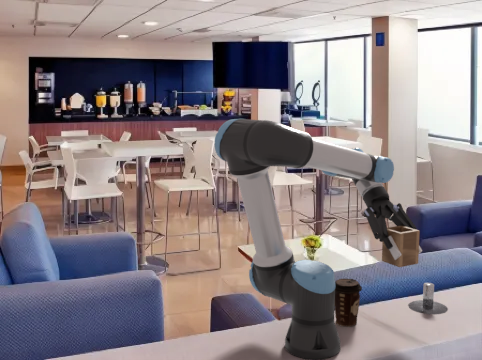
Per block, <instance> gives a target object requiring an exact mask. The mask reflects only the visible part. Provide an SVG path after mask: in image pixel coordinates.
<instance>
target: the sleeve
mask: <svg viewBox="0 0 482 360" xmlns="http://www.w3.org/2000/svg"><path fill="white" fill-rule="evenodd" d="M387 231H388V237H389V236H391V237H392V238H393V240H394V242H395V244H396V245H397V247H398V249H399V251H400V252H401V254H402V255H401V256H400V257H399V258H398V259H397V260H395V259H394V257H393V256H392V254H391V252H390V250H389V249H387V247H386V246H385V244H384V242H381V246H382V247H381V261H382V262H384V263H387V264H389V265H393V266H395V267H398V268H402V267H407V266H413V265H418V264H419V246H420V232H421V231H420V230H419V229H412V228H409V227H405V226H396V225H395V226H390V227H389V226H388V227H387Z"/></svg>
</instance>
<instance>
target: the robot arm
mask: <svg viewBox="0 0 482 360" xmlns="http://www.w3.org/2000/svg"><path fill="white" fill-rule="evenodd" d="M214 150H215V153H216V155H217V157H219V159H221V160H222V161H224V162H226V164H227V167H228V172H229V174H230V175H231V176H232V177H234V178H236V179H237V184H238V188H239V191H240V196H241V199H242V202H243V206H244V211H245V214H246V218H247V222H248V226H249V230H250V231H249V232H250V235H251V238H252V241H253V246H254V250H255V254H254V255H253V257H252V261H251V263H250V269H249V270H248V277H249V281H250V284H251V286H252V288H253V289H254V290H255V291H257V293H259V294H261V295H263V296H265V297H268V298H270V299H273V300H275V301H276V300H277V301H279V302H282V303H285V304H287V305H289V306H291V320H290V324H289V327H288V329H287V332H286V335H285V339H284V348H285V350H286V352H288V354H291V355H293V356H295V357H298V358H302V359H306V360H322V359H329V358H332V357H334V356H336V355H338V354H339V353H340V352H341V339H340V335H339V332H338V330H337V326H336V321H335V287H336V285H335V281H336V280H335V278H336V277H335V272H334V270H333V268H332V267H331V266H329V265H328V264H326V263H324V262H321V261H319V260H311V259H300V260H297V261H295V257H294V252H293V250H292V248H290V247H289V246H288V245H286V243H285V238H284V234H283V230H282V225H281V222H280V217H279V214H278V209H277V208H278V207H277V204H276V200H275V196H274V192H273V187H272V183H271V179H270V175H269V169H270V168H271V167H283V168H293V169H302V168H304V167H307V168H311V169H315V170H320V171H321V172H322V173H323V174H325V175H326V176H330V177H338V178H345V179H351V181H352V182H353V184H354V186H355V188H356V189H357V191H358V193H359V195H360V197H361V198H362V200H363V202H364V204H365V206H366V207H367V208H366V209H365V210H364V211H363V212H362V214H363V215H364V217H365V218H366V219H367V222H368V225H369V227H370V229H371V232H372V235H373V237H374V239H375V240H379V242H380V243H382V242H384V244H385V246H386V247H387V249H389V250H390V252H391V254H392V256H393V257H394V259H395V260H397V259H398V258H399V257H400V256H401V255H402V254H401V252H400V251H399V249H398V247H397V245H396V244H395V242H394V240H393V238H392V237H391V236H389V237H388V231H387V228H388V227H387V222H386V221H387V220H388V221H390V222H391V221H392V223H393V224H394V225H395V226H405V227H409V228H412V229H416V230H418V229H417V226H416V225H415V224H414V222H413V221H412V219H411V218H410V216H408V214H407V212H406V211H405V210H404V209H403V206H402V204H401V203H399V202H398V203H397V204H393V202H391V200H390V195H389V193H388V191H387V189H386V188H385V186H384V185H383V184H385V183H388V182H389V181H390V180H391V179H392V178H393V175H394V171H395V166H394V162H393V161H392V159H391V158H389V157H388V156H387V157H385V156H382V155H379V156H378V155H373V154H369V153H366V152H364V151H363V149H361V148H360V147H355V148H348V147H345V146H340V145H337V144H334V143H330V142H326V141H322V140H320V139H317V138H316V139H315V138H313V137H312V136H311V135H310V134H309V133H308V132H306V131H303V130H299V129H297V128H294V127H290V126H288V125H285V124H282V123H280V122H276V121H273V120H266V119H265V120H263V119H262V120H260V119H250V118H249V119H248V118H247V119H246V118H234V119H229V120H227V121H225V122H224V123H222V124H221V125H220V127H218V130H217V133H216V134H215V137H214ZM386 219H387V220H386ZM422 252H423V249H422V247H421V246H420V245H419V254H421V253H422Z"/></svg>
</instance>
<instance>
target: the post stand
mask: <svg viewBox="0 0 482 360" xmlns="http://www.w3.org/2000/svg"><path fill="white" fill-rule="evenodd" d="M422 288H423V289H422V292H423V293H422V300H420V299H419V300H414V301H410V302H409V303H408V305H407V306H408V308H409V309H410V310H411V311H414V312H416V313H418V314H419V313H420V314H425V315H441V314H445V313H446V312H448V310H449V308H448V307H447V305H445V304H443V303H441V302H437V301H435V299H434V298H435V297H434V295H435V294H434V293H435V284H434V283H432V282H424V283H423V287H422Z"/></svg>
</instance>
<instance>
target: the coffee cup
mask: <svg viewBox="0 0 482 360" xmlns="http://www.w3.org/2000/svg"><path fill="white" fill-rule="evenodd" d="M335 285H336V287H335V310H334V318H335V324H336V323H337V324H338V325H337V324H336V325H337V326H340V325H341V327H353V326H356V325H357V323H358V315H359V314H358V313H359V307H360V299H361V294H360V292H361V291H362V290H363V287H362V286H361V284H360V283H359V282H358V281H357V279H353V278H339V279H337V280H335Z"/></svg>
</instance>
